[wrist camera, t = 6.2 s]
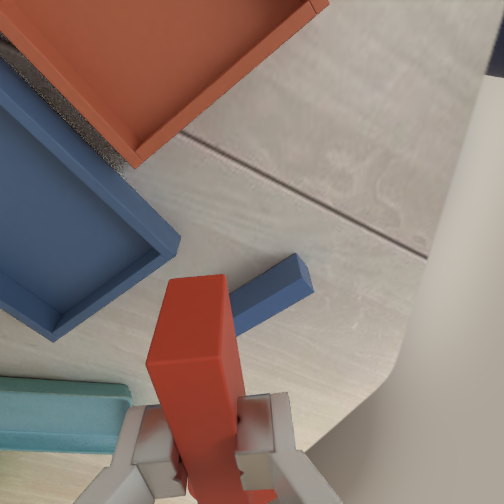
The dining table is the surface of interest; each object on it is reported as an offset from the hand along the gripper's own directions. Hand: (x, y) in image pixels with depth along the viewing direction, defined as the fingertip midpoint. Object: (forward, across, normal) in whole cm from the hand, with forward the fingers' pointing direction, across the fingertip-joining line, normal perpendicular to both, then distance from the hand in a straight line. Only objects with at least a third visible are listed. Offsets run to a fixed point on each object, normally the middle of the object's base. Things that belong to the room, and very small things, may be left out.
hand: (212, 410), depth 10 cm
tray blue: (+15, +13, -2) cm, 20 cm away
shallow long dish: (+15, +24, +18) cm, 34 cm away
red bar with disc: (+2, 0, +3) cm, 3 cm away
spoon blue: (+15, +1, +8) cm, 17 cm away
